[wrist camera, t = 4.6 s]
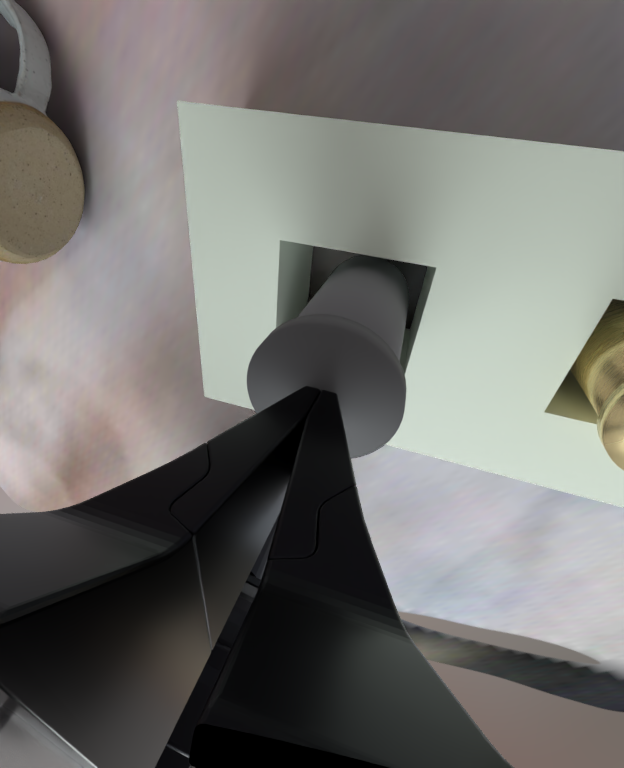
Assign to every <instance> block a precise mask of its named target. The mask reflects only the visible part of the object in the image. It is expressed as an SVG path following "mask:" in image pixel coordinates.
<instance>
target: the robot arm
mask: <svg viewBox="0 0 624 768" xmlns="http://www.w3.org/2000/svg"><path fill="white" fill-rule="evenodd" d="M0 768H514V767H513V766H512V765H510V763H508V762H507V761H506V760H505V759H504V758H503V757H502V755H501V754H500V753H499V752H498V751H497V750H496V748H495V747H494V746H493V745H492V744H491V743H490V741H489V740H488V739H487V738H486V736H485V735H484V734H483V732H482V731H481V730H480V728H479V727H478V726H477V725H476V723H475V722H474V721H473V719H472V718H471V717H470V715H469V714H468V713H467V712H466V710H465V709H464V708H463V707H462V705H461V704H460V702H459V701H458V700H457V699H456V697H455V696H454V695H453V693H452V692H451V691H450V689H449V688H448V687H447V686H446V684H445V683H444V682H443V680H442V679H441V678H440V676H439V675H438V674H437V673H436V671H435V670H434V669H433V667H432V666H431V665H430V663H429V662H428V661H427V659H426V658H425V657H424V656H423V654H422V653H421V652H420V650H419V649H418V648H417V646H416V645H415V644H414V642H413V641H412V639H411V637H410V636H409V634H408V633H407V631H406V629H405V627H404V625H403V623H402V621H401V618H400V616H399V614H398V611H397V609H396V606H395V604H394V601H393V599H392V596H391V593H390V590H389V588H388V585H387V582H386V580H385V577H384V574H383V571H382V569H381V566H380V563H379V561H378V558H377V555H376V552H375V550H374V547H373V544H372V541H371V538H370V535H369V532H368V529H367V526H366V523H365V520H364V516H363V512H362V508H361V504H360V500H359V495H358V490H357V487H356V482H355V477H354V472H353V467H352V462H351V457H350V453H349V448H348V443H347V438H346V433H345V428H344V424H343V419H342V414H341V409H340V404H339V399H338V395H337V394H336V393H334V392H330V391H326V390H322V391H320V389H318V388H314V387H310V386H304V387H302V388H301V389H299V390H297V391H295V392H294V393H292V394H290V395H288V396H287V397H285V398H283V399H281V400H280V401H278V402H276V403H274V404H273V405H271V406H269V407H267V408H266V409H264V410H262V411H260V412H258V413H257V414H255V415H253V416H251V417H250V418H248V419H246V420H244V421H243V422H241V423H239V424H237V425H236V426H234V427H232V428H230V429H229V430H227V431H225V432H223V433H222V434H220V435H218V436H216V437H215V438H213V439H211V440H209V441H208V442H207V443H204V444H202V445H200V446H199V447H197V448H195V449H193V450H192V451H190V452H188V453H186V454H184V455H182V456H180V457H179V458H177V459H175V460H173V461H171V462H169V463H167V464H165V465H163V466H161V467H159V468H156V469H154V470H152V471H150V472H148V473H146V474H144V475H142V476H139V477H137V478H135V479H133V480H131V481H128V482H126V483H124V484H122V485H120V486H117V487H115V488H113V489H111V490H109V491H106V492H104V493H102V494H100V495H98V496H95V497H93V498H91V499H89V500H86V501H84V502H81V503H79V504H76V505H73V506H70V507H66V508H62V509H58V510H53V511H46V512H32V513H12V514H0Z"/></svg>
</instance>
